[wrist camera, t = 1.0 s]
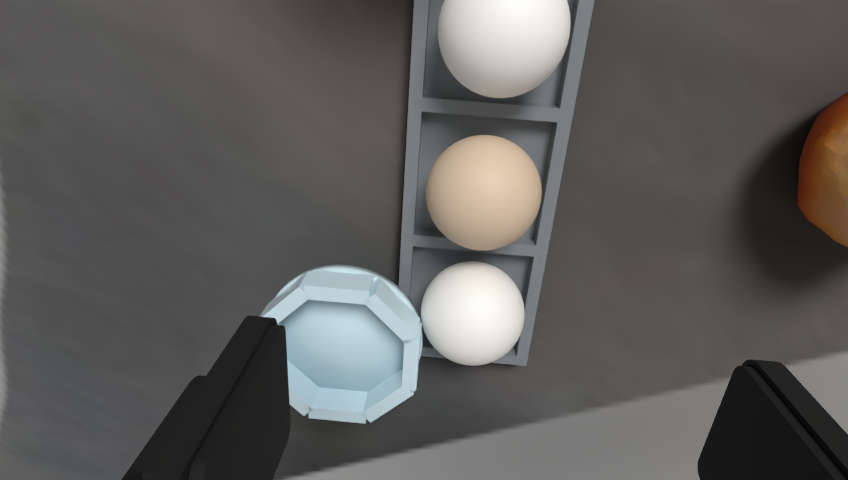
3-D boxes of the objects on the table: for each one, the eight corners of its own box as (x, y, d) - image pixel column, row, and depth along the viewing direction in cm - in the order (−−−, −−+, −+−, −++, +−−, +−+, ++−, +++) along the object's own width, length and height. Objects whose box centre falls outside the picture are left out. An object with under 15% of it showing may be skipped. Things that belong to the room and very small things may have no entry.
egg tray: (597, -62, 21) (606, -66, 20) (523, 350, 29) (526, 365, 28) (420, -75, 21) (418, -80, 20) (397, 338, 30) (394, 353, 28)
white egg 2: (532, 258, 26) (539, 297, 22) (510, 344, 28) (513, 397, 23) (436, 239, 27) (423, 272, 22) (421, 324, 28) (405, 372, 24)
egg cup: (431, 244, 27) (425, 294, 22) (421, 365, 30) (414, 429, 26) (284, 232, 27) (248, 278, 23) (290, 352, 30) (260, 414, 26)
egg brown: (541, 128, 24) (560, 157, 19) (525, 228, 26) (539, 275, 21) (432, 119, 24) (426, 146, 19) (425, 219, 26) (418, 265, 21)
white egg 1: (567, -34, 21) (597, -45, 16) (547, 92, 23) (569, 113, 18) (445, -43, 21) (441, -56, 17) (435, 83, 23) (429, 102, 19)
